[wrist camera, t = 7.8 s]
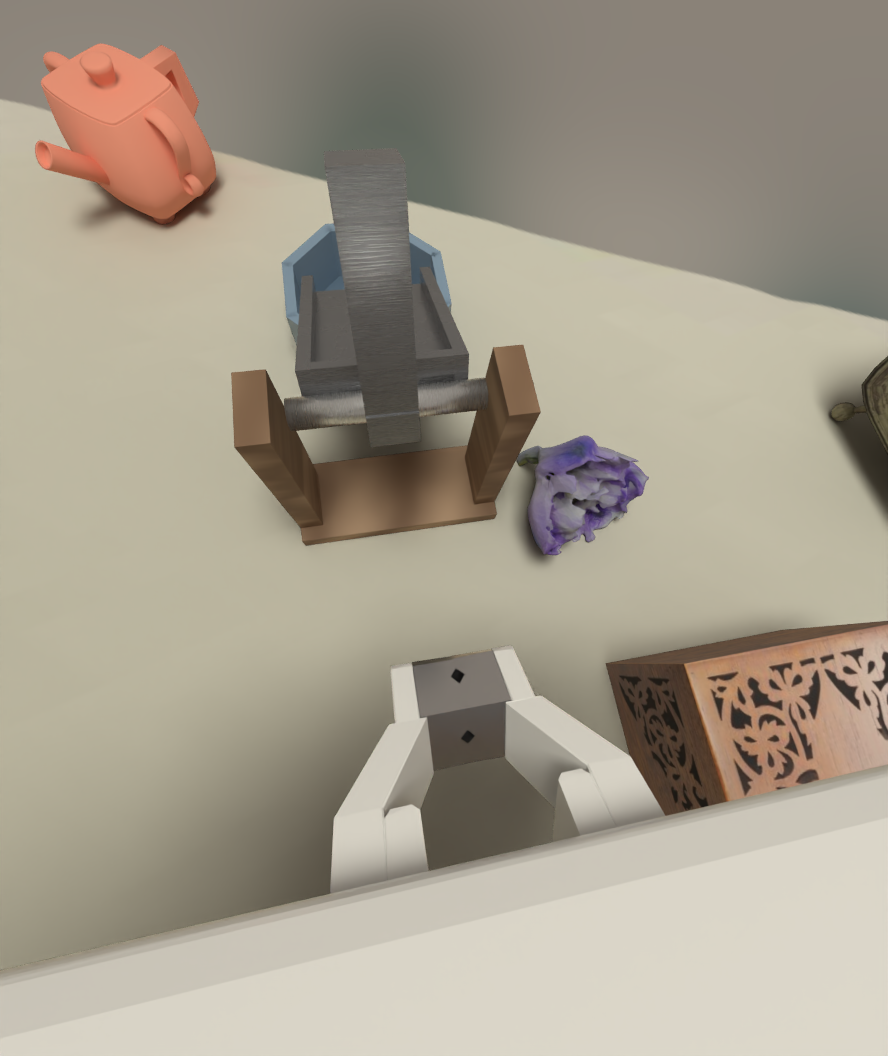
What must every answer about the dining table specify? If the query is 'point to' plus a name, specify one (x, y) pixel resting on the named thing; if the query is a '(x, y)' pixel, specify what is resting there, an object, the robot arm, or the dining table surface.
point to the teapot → (128, 128)
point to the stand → (388, 462)
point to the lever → (377, 318)
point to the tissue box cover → (755, 712)
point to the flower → (578, 490)
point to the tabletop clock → (871, 402)
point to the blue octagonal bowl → (326, 269)
